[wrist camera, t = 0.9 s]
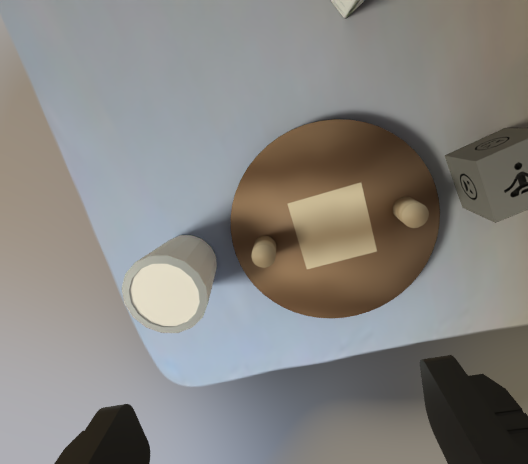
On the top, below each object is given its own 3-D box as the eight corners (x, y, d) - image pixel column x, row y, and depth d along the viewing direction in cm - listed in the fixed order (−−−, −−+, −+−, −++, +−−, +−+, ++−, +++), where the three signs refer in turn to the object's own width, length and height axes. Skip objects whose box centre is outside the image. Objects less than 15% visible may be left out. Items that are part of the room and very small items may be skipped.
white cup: (231, 286, 34) (218, 326, 27) (166, 299, 34) (138, 340, 28) (212, 221, 32) (192, 247, 25) (144, 236, 32) (108, 265, 26)
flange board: (205, 156, 30) (194, 161, 26) (412, 89, 27) (433, 84, 23) (266, 327, 35) (263, 352, 31) (446, 284, 32) (468, 306, 28)
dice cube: (462, 207, 30) (495, 222, 25) (444, 155, 29) (475, 161, 24) (520, 182, 29) (566, 193, 24) (504, 128, 28) (549, 128, 23)
